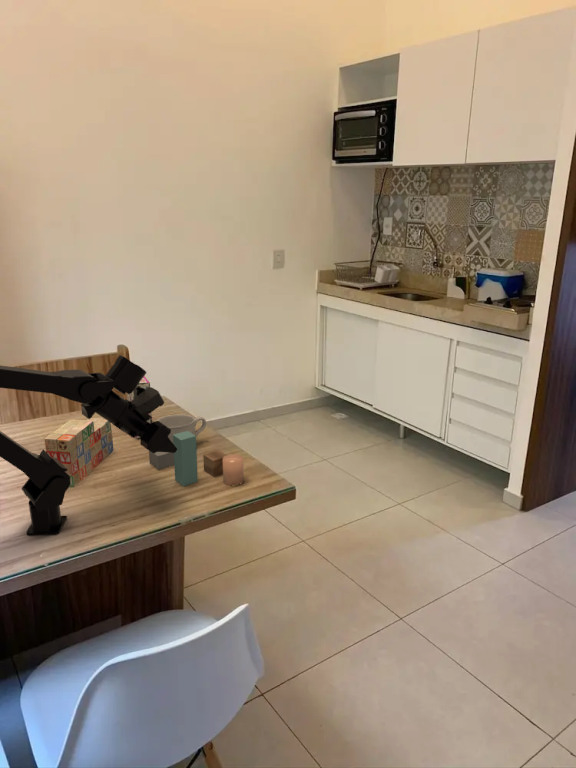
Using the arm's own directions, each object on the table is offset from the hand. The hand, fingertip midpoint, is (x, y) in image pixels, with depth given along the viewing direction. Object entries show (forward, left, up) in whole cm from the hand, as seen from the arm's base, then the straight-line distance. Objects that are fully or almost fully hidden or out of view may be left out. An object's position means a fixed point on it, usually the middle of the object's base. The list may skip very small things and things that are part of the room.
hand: (166, 444), depth 134 cm
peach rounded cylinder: (+2, -15, -11) cm, 19 cm away
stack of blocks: (+12, +23, -11) cm, 28 cm away
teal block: (+3, -4, -11) cm, 12 cm away
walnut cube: (+8, -11, -11) cm, 17 cm away
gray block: (+13, +3, -11) cm, 17 cm away
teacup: (+24, -1, -11) cm, 26 cm away
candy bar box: (+35, +12, -11) cm, 38 cm away
